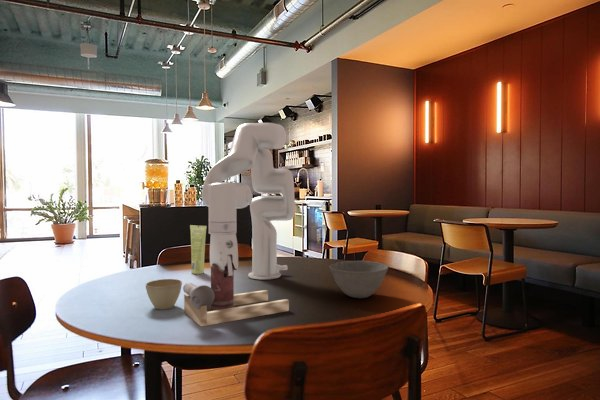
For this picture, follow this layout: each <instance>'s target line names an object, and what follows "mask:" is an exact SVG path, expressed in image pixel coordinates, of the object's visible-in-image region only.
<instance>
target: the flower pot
mask: <svg viewBox="0 0 600 400" xmlns="http://www.w3.org/2000/svg"><path fill="white" fill-rule="evenodd" d="M182 285H183V281H182V280H181V279H178V278H177V279H176V278H163V279H156V280H155V279H154V280H151V281H148V282H146V283H145V289H146V293H147V296H148V299H149V301H150V303H151V305H152V306H153V307H154V308H155V309H156V310H168V309H173V308H174V306H175V304H176V303H177V300H178V299H179V296H180V294H181V290H182Z"/></svg>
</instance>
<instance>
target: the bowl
mask: <svg viewBox="0 0 600 400" xmlns="http://www.w3.org/2000/svg"><path fill="white" fill-rule="evenodd" d="M328 268H329V269H330V272H331V274H332V276H333V279H334V281H335V283H336V285H337V286H338V288H339V289H340V290H341V292H343V293H344V294H345V295H347V296H348V297H351V298H353V299H365V298H369V297H370V296H372V295H373V294H374V293H376V291H377V290H378V289H379V287H380V286H381V284H382V283H383V281H384V278H385V276H386V275H387V272H388V270H389V266H388V265H387V264H385V263H381V262H377V261H369V260H346V261H339V262H335V263H331V264H330V265H329V267H328Z"/></svg>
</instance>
